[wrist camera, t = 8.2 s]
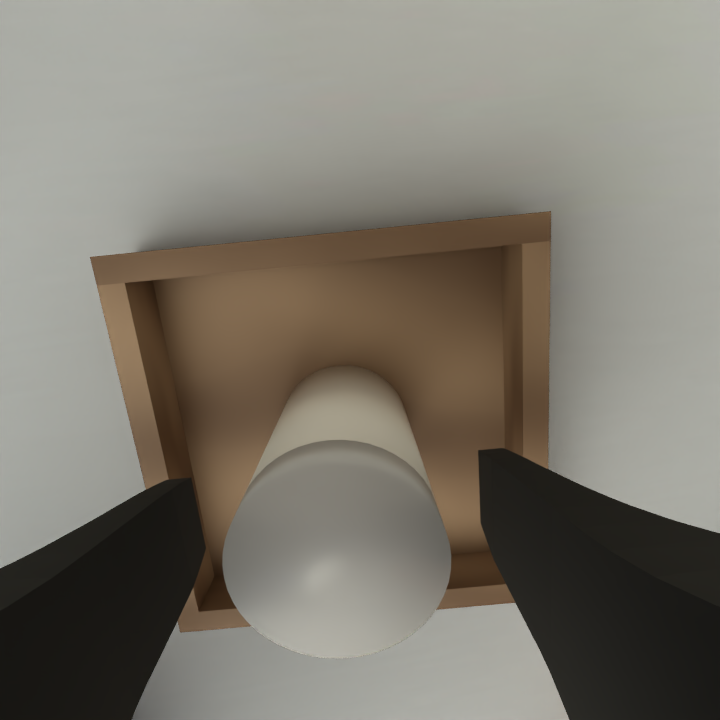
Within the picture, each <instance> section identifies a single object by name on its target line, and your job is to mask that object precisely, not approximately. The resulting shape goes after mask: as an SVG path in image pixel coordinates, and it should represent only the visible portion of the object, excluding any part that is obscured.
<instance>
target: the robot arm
mask: <svg viewBox="0 0 720 720" xmlns="http://www.w3.org/2000/svg"><path fill="white" fill-rule="evenodd" d="M478 462H479V493H480V523H481V526H482V529H483V531H484V534H485V537H486V540H487V543H488V546H489V548H490V551H491V554H492V556H493V559H494V561H495V563H496V565H497V567H498V569H499V571H500V573H501V575H502V577H503V579H504V581H505V583H506V585H507V587H508V589H509V591H510V593H511V595H512V597H513V599H514V601H515V603H516V605H517V607H518V608H519V610H520V612H521V614H522V616H523V618H524V620H525V622H526V624H527V626H528V628H529V630H530V632H531V634H532V636H533V638H534V640H535V641H536V643H537V645H538V647H539V649H540V651H541V653H542V656H543V658H544V660H545V662H546V664H547V666H548V668H549V671H550V673H551V675H552V678H553V680H554V683H555V685H556V688H557V690H558V692H559V695H560V697H561V700H562V702H563V705H564V707H565V710H566V712H567V715H568V717H569V720H720V533H716V532H712V531H709V530H705V529H701V528H698V527H694V526H691V525H687V524H684V523H681V522H677V521H674V520H671V519H668V518H665V517H662V516H659V515H656V514H653V513H650V512H647V511H645V510H642V509H639V508H636V507H633V506H630V505H628V504H625V503H622V502H620V501H617V500H615V499H612V498H610V497H608V496H605V495H603V494H600V493H598V492H596V491H593V490H591V489H589V488H586V487H584V486H582V485H580V484H578V483H575V482H573V481H571V480H569V479H567V478H565V477H563V476H561V475H559V474H557V473H555V472H552V471H550V470H548V469H546V468H544V467H542V466H540V465H538V464H536V463H535V462H533V461H531V460H529V459H527V458H525V457H522V456H520V455H518V454H516V453H514V452H512V451H510V450H507V449H504V448H497V449H486V450H478ZM205 550H206V545H205V540H204V536H203V531H202V526H201V521H200V517H199V512H198V507H197V502H196V497H195V493H194V488H193V483H192V478H191V477H190V478H180V479H169V480H165V481H163V482H160V483H158V484H156V485H154V486H152V487H150V488H148V489H146V490H145V491H143V492H141V493H139V494H137V495H136V496H134V497H132V498H130V499H129V500H127V501H125V502H123V503H122V504H120V505H118V506H116V507H115V508H113V509H111V510H109V511H108V512H106V513H104V514H103V515H101V516H99V517H97V518H96V519H94V520H92V521H90V522H89V523H87V524H85V525H83V526H81V527H80V528H78V529H76V530H74V531H72V532H70V533H68V534H67V535H65V536H63V537H61V538H59V539H57V540H56V541H54V542H52V543H50V544H48V545H46V546H45V547H43V548H41V549H39V550H37V551H35V552H33V553H31V554H29V555H27V556H25V557H23V558H21V559H19V560H17V561H15V562H13V563H11V564H9V565H7V566H5V567H2V568H0V720H131V719H132V717H133V714H134V712H135V709H136V707H137V705H138V702H139V700H140V698H141V696H142V693H143V691H144V689H145V687H146V684H147V682H148V680H149V678H150V676H151V674H152V672H153V670H154V668H155V666H156V664H157V662H158V660H159V658H160V656H161V654H162V652H163V650H164V648H165V646H166V643H167V641H168V639H169V637H170V635H171V633H172V631H173V629H174V627H175V625H176V623H177V621H178V619H179V617H180V615H181V613H182V611H183V608H184V606H185V604H186V602H187V600H188V598H189V596H190V594H191V591H192V589H193V587H194V584H195V581H196V578H197V576H198V573H199V570H200V567H201V563H202V560H203V557H204V554H205Z"/></svg>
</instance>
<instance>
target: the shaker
mask: <svg viewBox="0 0 720 720" xmlns="http://www.w3.org/2000/svg"><path fill="white" fill-rule="evenodd" d="M222 566H223V574H224V580H225V583H226V587H227V590H228V592H229V595H230V597H231V599H232V601H233V603H234V605H235V606H236V608H237V609H238V611H239V612H240V614H241V615H242V616H243V617H244V618H245V620H246V621H247V622H248V623H249V624H250V625H251V626H252V627H253V628H254V629H255V630H257V631H258V632H259V633H260V634H262V635H263V636H265V637H266V638H267V639H269V640H270V641H272V642H274V643H276V644H278V645H280V646H282V647H284V648H286V649H289V650H291V651H294V652H297V653H301V654H304V655H308V656H314V657H320V658H333V659H339V658H353V657H360V656H365V655H369V654H373V653H377V652H379V651H382V650H385V649H387V648H390V647H392V646H394V645H396V644H398V643H400V642H402V641H403V640H405V639H406V638H408V637H409V636H411V635H412V634H413V633H415V632H416V631H417V630H418V629H419V628H420V627H422V626H423V625H424V624H425V623H426V621H427V620H428V619H429V618H430V617H431V616H432V615H433V613H434V612H435V610H436V609H437V607H438V606H439V604H440V602H441V600H442V598H443V596H444V594H445V591H446V588H447V585H448V583H449V578H450V572H451V551H450V544H449V540H448V537H447V533H446V530H445V527H444V524H443V521H442V518H441V515H440V512H439V509H438V506H437V503H436V500H435V498H434V495H433V492H432V489H431V486H430V483H429V480H428V477H427V474H426V471H425V468H424V465H423V462H422V459H421V456H420V453H419V450H418V447H417V444H416V441H415V438H414V436H413V433H412V430H411V427H410V424H409V421H408V418H407V415H406V412H405V409H404V406H403V403H402V401H401V399H400V397H399V395H398V394H397V392H396V391H395V389H394V388H393V387H392V386H391V385H390V384H389V383H388V382H387V381H386V380H385V379H384V378H382V377H381V376H379V375H378V374H376V373H374V372H372V371H370V370H367V369H364V368H361V367H356V366H348V365H341V366H332V367H328V368H324V369H321V370H319V371H317V372H314V373H313V374H311V375H309V376H308V377H306V378H305V379H304V380H303V381H301V382H300V383H299V384H298V386H297V387H296V388H295V389H294V390H293V392H292V393H291V395H290V397H289V399H288V401H287V403H286V405H285V407H284V409H283V411H282V414H281V416H280V418H279V420H278V422H277V424H276V427H275V429H274V431H273V433H272V435H271V438H270V440H269V442H268V444H267V446H266V448H265V451H264V453H263V455H262V457H261V459H260V462H259V464H258V466H257V468H256V470H255V472H254V475H253V477H252V479H251V481H250V483H249V486H248V488H247V490H246V492H245V494H244V496H243V499H242V501H241V503H240V505H239V507H238V510H237V512H236V514H235V516H234V518H233V520H232V523H231V525H230V527H229V530H228V533H227V536H226V538H225V543H224V548H223V562H222Z"/></svg>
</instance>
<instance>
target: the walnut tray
mask: <svg viewBox="0 0 720 720" xmlns="http://www.w3.org/2000/svg"><path fill="white" fill-rule="evenodd" d="M550 247H551V211H549V212H539V213H529V214H519V215H509V216H499V217H489V218H479V219H468V220H458V221H448V222H438V223H428V224H418V225H408V226H398V227H388V228H378V229H368V230H358V231H347V232H337V233H327V234H317V235H307V236H297V237H287V238H277V239H267V240H257V241H247V242H237V243H226V244H216V245H206V246H196V247H186V248H176V249H166V250H156V251H146V252H136V253H126V254H116V255H105V256H95V257H90V259H91V263H92V267H93V271H94V275H95V280H96V284H97V288H98V292H99V296H100V300H101V304H102V309H103V313H104V317H105V321H106V325H107V329H108V334H109V338H110V342H111V346H112V350H113V354H114V359H115V363H116V367H117V371H118V375H119V379H120V383H121V388H122V392H123V396H124V400H125V404H126V408H127V413H128V417H129V421H130V425H131V429H132V433H133V438H134V442H135V446H136V450H137V454H138V458H139V462H140V467H141V471H142V475H143V479H144V483H145V487H146V489H148V488H150V487H152V486H154V485H156V484H158V483H160V482H163V481H165V480H169V479H180V478H190V477H191V478H192V483H193V488H194V493H195V497H196V502H197V507H198V512H199V517H200V521H201V526H202V531H203V536H204V540H205V545H206V550H205V554H204V557H203V560H202V563H201V567H200V570H199V573H198V576H197V578H196V581H195V584H194V587H193V589H192V591H191V594H190V596H189V598H188V600H187V602H186V604H185V606H184V608H183V611H182V613H181V615H180V617H179V619H178V625H179V629H180V632H191V631H203V630H214V629H225V628H236V627H247V626H251V625H250V624H249V623H248V622H247V621H246V620H245V618H244V617H243V616H242V615H241V614H240V612H239V611H238V609H237V608H236V606H235V605H234V603H233V601H232V599H231V597H230V595H229V592H228V590H227V587H226V583H225V580H224V574H223V566H222V562H223V548H224V543H225V538H226V536H227V533H228V530H229V527H230V525H231V523H232V520H233V518H234V516H235V514H236V512H237V510H238V507H239V505H240V503H241V501H242V499H243V496H244V494H245V492H246V490H247V488H248V486H249V483H250V481H251V479H252V477H253V475H254V472H255V470H256V468H257V466H258V464H259V462H260V459H261V457H262V455H263V453H264V451H265V448H266V446H267V444H268V442H269V440H270V438H271V435H272V433H273V431H274V429H275V427H276V424H277V422H278V420H279V418H280V416H281V414H282V411H283V409H284V407H285V405H286V403H287V401H288V399H289V397H290V395H291V393H292V392H293V390H294V389H295V388H296V387H297V386H298V384H299V383H300V382H301V381H303V380H304V379H305V378H306V377H308V376H309V375H311V374H313V373H314V372H317V371H319V370H321V369H324V368H328V367H332V366H341V365H348V366H356V367H361V368H364V369H367V370H370V371H372V372H374V373H376V374H378V375H379V376H381V377H382V378H384V379H385V380H386V381H387V382H388V383H389V384H390V385H391V386H392V387H393V388H394V389H395V391H396V392H397V394H398V395H399V397H400V399H401V401H402V403H403V406H404V409H405V412H406V415H407V418H408V421H409V424H410V427H411V430H412V433H413V436H414V438H415V441H416V444H417V447H418V450H419V453H420V456H421V459H422V462H423V465H424V468H425V471H426V474H427V477H428V480H429V483H430V486H431V489H432V492H433V495H434V498H435V500H436V503H437V506H438V509H439V512H440V515H441V518H442V521H443V524H444V527H445V530H446V533H447V537H448V540H449V544H450V551H451V572H450V578H449V583H448V585H447V588H446V591H445V594H444V596H443V598H442V600H441V602H440V604H439V606H438V607H437V609H449V608H460V607H471V606H482V605H493V604H505V603H515V601H514V599H513V597H512V595H511V593H510V591H509V589H508V587H507V585H506V583H505V581H504V579H503V577H502V575H501V573H500V571H499V569H498V567H497V565H496V563H495V561H494V559H493V556H492V554H491V551H490V548H489V546H488V543H487V540H486V537H485V534H484V531H483V529H482V526H481V523H480V493H479V462H478V450H486V449H497V448H504V449H507V450H510V451H512V452H514V453H516V454H518V455H520V456H522V457H525V458H527V459H529V460H531V461H533V462H535V463H536V464H538V465H540V466H542V467H544V468H546V469H548V425H549V336H550ZM437 609H436V610H437Z"/></svg>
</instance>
